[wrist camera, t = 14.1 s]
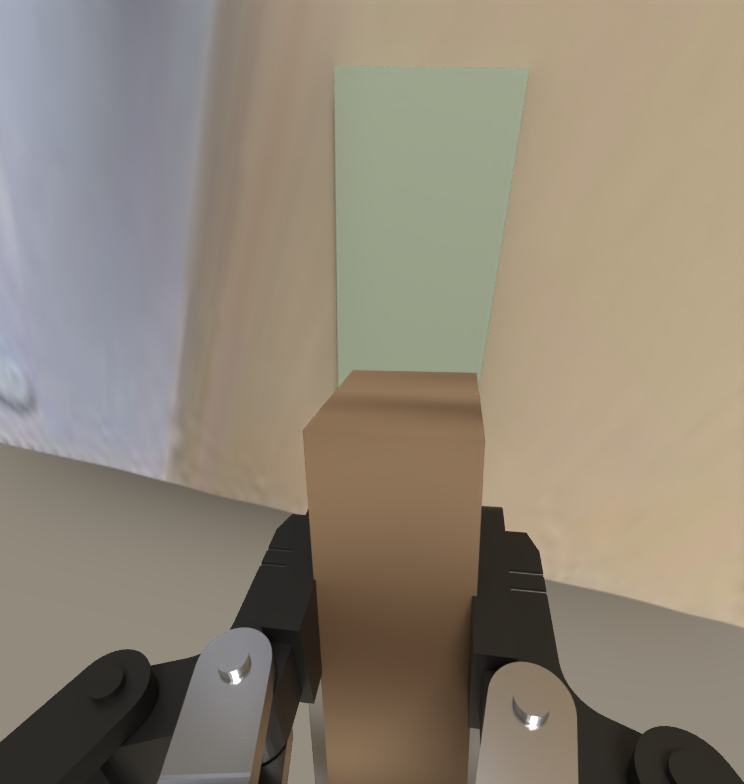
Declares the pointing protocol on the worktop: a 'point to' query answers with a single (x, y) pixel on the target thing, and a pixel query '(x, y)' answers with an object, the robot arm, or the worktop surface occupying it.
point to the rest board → (421, 212)
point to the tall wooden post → (395, 575)
